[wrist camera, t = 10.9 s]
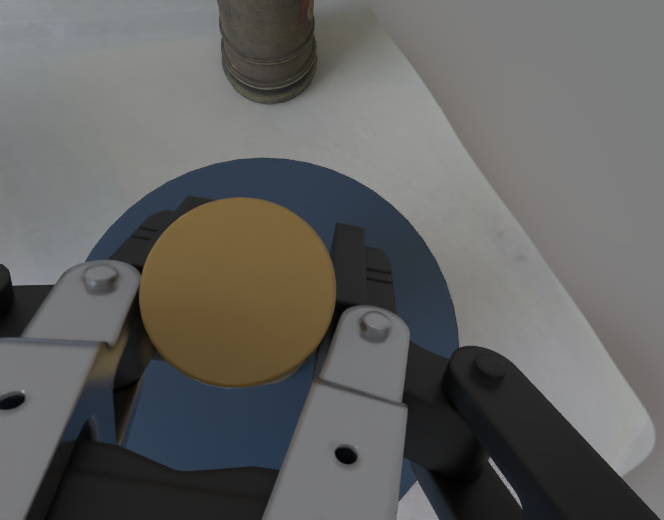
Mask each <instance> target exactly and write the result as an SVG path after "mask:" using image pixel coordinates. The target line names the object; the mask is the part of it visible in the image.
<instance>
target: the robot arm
mask: <svg viewBox="0 0 664 520" xmlns="http://www.w3.org/2000/svg"><path fill="white" fill-rule="evenodd" d="M212 201H215V200H214V199H209V198H203V197H198V196H192V195H188V196H187V197H186V199H185V200H184V201H183V202H182V203H181V204H180V206H179V207H178V208H177V209H176V210H175V211H170V210H163V211H160V212H158V213H156V214H153V215H151V216H149V217H147V218H146V219H145V221H144V222H143V223H142V224H141V225H140V226H139V228H138V229H136V230H135V231H134V232H133V233H132V234H131V237H128V238H127V239H126V241H125V242H124V243H123V244H122V245H121V246H120V247H119V248H118V249H117V250H116V251H115V252H114V253H113V254H112V255H111V256H110V257H109V258H108V259H107V260H94V261H88V262H84V263H81V264H78V265H75V266H73V267H71V268H70V269H68V270H67V271H65V272H64V273H63V274H62V275H61V277H60V278H59V280H58V281H57V283H56V284H55V285H22V286H12V281H11V276H10V272H9V270H8V269H7V268H6V267H5V266H4V265H2V264H0V520H396V518H397V509H398V499H399V490H400V480H401V471H402V461H403V458H406V459H408V460H410V462H411V467H412V470H413V473H414V475H415V477H416V478H417V480H418V482H419V484H420V486H421V487H422V489H423V491H424V493H425V495H426V496H427V498H428V500H429V502H430V504H431V505H432V507H433V509H434V511H435V513H436V514H437V516H438V518H439V520H660V519H659V518H658V517H657V515H656V514H655V513H654V512H653V511H652V510H651V509H650V508H649V507H648V506H647V505H646V504H645V503H644V502H643V501H642V500H641V498H640V497H639V496H638V495H637V494H636V493H635V492H634V491H633V490H632V489H631V488H630V487H629V486H628V485H627V484H626V483H625V482H624V480H623V479H622V478H621V477H620V476H619V475H618V474H617V473H616V472H615V471H614V470H613V469H612V468H611V467H610V466H609V464H608V463H607V462H606V461H605V460H604V459H603V458H602V457H601V456H600V455H599V454H598V453H597V452H596V451H595V450H594V449H593V447H592V446H591V445H590V444H589V443H588V442H587V441H586V440H585V439H584V438H583V437H582V436H581V435H580V434H579V433H578V432H577V430H576V429H575V428H574V427H573V426H572V425H571V424H570V423H569V422H568V421H567V420H566V419H565V418H564V417H563V416H562V414H561V413H560V412H559V411H558V410H557V409H556V408H555V407H554V406H553V405H552V404H551V403H550V402H549V401H548V400H547V399H546V397H545V396H544V395H543V394H542V393H541V392H540V391H539V390H538V389H537V388H536V387H535V386H534V385H533V384H532V383H531V382H530V380H529V379H528V378H527V377H526V376H525V375H524V374H523V373H522V372H521V371H520V370H519V369H518V368H517V367H516V366H515V365H514V364H513V363H512V362H511V361H509V360H508V359H507V358H505V357H504V356H502V355H500V354H499V353H497V352H494V351H492V350H489V349H486V348H483V347H478V346H464V347H460V348H458V349H456V350H455V351H454V352H453V353H452V354H451V357H450V359H448V358H445V357H443V356H440V355H438V354H435V353H433V352H430V351H428V350H426V349H424V348H422V347H420V346H418V345H417V344H415V343H414V342H413V341H411V340H410V332H409V328H408V327H407V325H406V324H405V322H404V321H403V320H402V319H401V318H400V317H398V316H397V309H396V301H395V293H394V286H393V278H392V275H391V274H392V270H391V262H390V260H389V258H388V257H387V256H386V255H385V253H384V252H383V251H382V250H381V249H377V248H372V247H366V246H365V229H364V227H359V226H354V225H349V224H343V223H338V222H337V223H336V227H335V231H334V236H333V241H332V246H331V251H330V258H331V260H332V264H333V268H334V271H335V278H336V301H335V309H334V312H333V316H332V320H331V322H330V325H329V327H328V329H327V332H326V334H325V335H324V337H323V339H322V341H321V342H320V344H319V345H318V346H317V348H316V351H315V360H314V368H313V377H312V385H311V389H310V391H309V394H308V397H307V399H306V402H305V405H304V407H303V410H302V413H301V415H300V418H299V421H298V423H297V426H296V429H295V431H294V434H293V437H292V440H291V442H290V445H289V448H288V450H287V453H286V456H285V458H284V461H283V464H282V466H281V469H280V470H275V469H269V468H263V467H256V466H249V467H236V468H223V469H210V470H197V471H178V470H175V469H172V468H170V467H167V466H165V465H163V464H161V463H158V462H156V461H154V460H151V459H149V458H147V457H144V456H142V455H140V454H137V453H135V452H133V451H131V450H128V449H126V445H127V441H128V438H129V435H130V431H131V428H132V424H133V421H134V417H135V414H136V411H137V407H138V404H139V400H140V397H141V393H142V390H143V387H144V371H145V369H146V368H147V366H148V364H149V362H150V361H151V360H157V361H163V362H167V361H166V360H165V359H164V358H163V357H162V356H161V355H160V354H159V353H158V351H157V350H156V348H155V347H154V345H153V344H152V342H151V340H150V338H149V336H148V334H147V332H146V330H145V327H144V324H143V321H142V317H141V311H140V305H139V288H140V280H141V275H142V271H143V268H144V265H145V262H146V260H147V257H148V255H149V253H150V251H151V249H152V248H153V246H154V244H155V243H156V241H157V240H158V239H159V237H160V236H161V235H162V233H163V232H164V231H165V230H166V229H167V228H168V227H169V226H170V225H171V224H172V223H173V222H175V221H176V220H177V219H178V218H180V217H181V216H182V215H184V214H186V213H187V212H189V211H190V210H192V209H194V208H196V207H199V206H201V205H203V204H206V203H209V202H212ZM490 457H491V458H492V460H493V461H494V463H495V464H496V465H497V467H498V468H499V469H500V471H501V472H502V474H503V475H504V476H505V478H506V479H507V481H508V482H509V483H510V485H511V486H512V487H513V489H514V490H515V492H516V493H517V495H518V497H519V499H520V502H521V505H522V508H521V507H520V505H519V504H518V503H517V501H516V500H515V498H514V497H513V496H512V494H511V493H510V491H509V490H508V489H507V487H506V486H505V484H504V483H503V481H502V480H501V479H500V477H499V476H498V474H497V473H496V472H495V470H494V469H493V467H492V466H491V465H490V463H489V462H488V460H489V458H490ZM522 509H523V510H522Z"/></svg>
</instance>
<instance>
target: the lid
mask: <svg viewBox="0 0 664 520" xmlns="http://www.w3.org/2000/svg"><path fill="white" fill-rule="evenodd" d="M188 195H192V196H198V197H203V198H209V199H214V200H215V201H212V202H209V203H206V204H203V205H201V206H199V207H196V208H194V209H192V210H190V211H189V212H187V213H186V214H184V215H182V216H181V217H180V218H178V219H177V220H176V221H175V222H173V223H172V224H171V225H170V226H169V227H168V228H167V229H166V230H165V231H164V232H163V233H162V235H161V236H160V237H159V239H158V240H157V241H156V243H155V244H154V246H153V248H152V249H151V251H150V253H149V255H148V257H147V260H146V262H145V265H144V268H143V271H142V275H141V280H140V288H139V305H140V311H141V317H142V321H143V324H144V327H145V330H146V332H147V334H148V336H149V338H150V340H151V342H152V344H153V345H154V347H155V348H156V350H157V351H158V353H159V354H160V355H161V356H162V357H163V358H164V359H165V360H166V361H167V362H163V361H157V360H151V361H150V362H149V364H148V366H147V368H146V369H145V371H144V387H143V390H142V393H141V397H140V400H139V404H138V407H137V411H136V414H135V417H134V421H133V424H132V428H131V431H130V435H129V438H128V441H127V445H126V449H128V450H131V451H133V452H135V453H137V454H140V455H142V456H144V457H147V458H149V459H151V460H154V461H156V462H158V463H161V464H163V465H165V466H167V467H170V468H172V469H175V470H178V471H197V470H210V469H223V468H236V467H249V466H256V467H263V468H269V469H275V470H280V469H281V466H282V464H283V461H284V458H285V456H286V453H287V450H288V448H289V445H290V442H291V440H292V437H293V434H294V431H295V429H296V426H297V423H298V421H299V418H300V415H301V413H302V410H303V407H304V405H305V402H306V399H307V397H308V394H309V391H310V389H311V385H312V377H313V368H314V360H315V351H316V348H317V346H318V345H319V344H320V342H321V341H322V339H323V337H324V335H325V334H326V332H327V329H328V327H329V325H330V322H331V320H332V316H333V312H334V309H335V301H336V278H335V271H334V268H333V264H332V260H331V258H330V251H331V246H332V241H333V236H334V231H335V227H336V223H337V222H338V223H343V224H349V225H354V226H359V227H364V229H365V246H366V247H372V248H377V249H381V250H382V251H383V252H384V253H385V255H386V256H387V257H388V258H389V260H390V262H391V270H392V274H391V275H392V278H393V286H394V293H395V301H396V309H397V316H398V317H400V318H401V319H402V320H403V321H404V322H405V324H406V325H407V327H408V328H409V332H410V340H411V341H413V342H414V343H415V344H417V345H418V346H420V347H422V348H424V349H426V350H428V351H430V352H433V353H435V354H438V355H440V356H443V357H445V358H448V359H450V357H451V354H452V353H453V352H454V351H455V350H456V349H458V348H459V339H458V327H457V322H456V317H455V311H454V306H453V302H452V299H451V296H450V293H449V290H448V287H447V284H446V281H445V279H444V277H443V274H442V272H441V270H440V268H439V266H438V264H437V261H436V259H435V258H434V256H433V255H432V253H431V251H430V250H429V248H428V246H427V245H426V243H425V242H424V240H423V239H422V237H421V236H420V235H419V234H418V232H417V231H416V230H415V229H414V227H413V226H412V225H411V224H410V223H409V221H408V220H407V219H406V218H405V217H404V216H403V215H402V214H401V213H400V212H399V211H397V210H396V209H395V208H394V207H393V206H392V205H391V204H390V203H389V202H387V201H386V200H385V199H383V198H382V197H381V196H379V195H378V194H377V193H375V192H374V191H373V190H371V189H369V188H368V187H366V186H364V185H363V184H361V183H359V182H357V181H356V180H354V179H352V178H350V177H348V176H345V175H343V174H341V173H338V172H336V171H334V170H331V169H328V168H325V167H321V166H318V165H314V164H311V163H307V162H301V161H295V160H289V159H278V158H251V159H238V160H232V161H227V162H222V163H216V164H213V165H209V166H206V167H203V168H200V169H197V170H193V171H191V172H188V173H186V174H184V175H182V176H180V177H177V178H175V179H173V180H171V181H169V182H167V183H165V184H164V185H162V186H160V187H159V188H157V189H155V190H154V191H152V192H150V193H149V194H147V195H146V196H145V197H143V198H142V199H141V200H139V201H138V202H137V203H136V204H134V205H133V206H132V207H130V208H129V209H128V210H127V211H126V212H125V213H124V214H123V215H122V216H121V217H120V218H119V219H118V220H117V221H116V222H115V223H114V224H113V225H112V226H111V227H110V228H109V229H108V230H107V231H106V233H105V234H104V235H103V236H102V238H101V239H100V240H99V242H98V243H97V244H96V245H95V247H94V248H93V249H92V251H91V253H90V254H89V256H88V258H87V259H86V261H85V262H88V261H94V260H107V259H108V258H109V257H110V256H111V255H112V254H113V253H114V252H115V251H116V250H117V249H118V248H119V247H120V246H121V245H122V244H123V243H124V242H125V241H126V239H127V238H128V237H131V234H132V233H133V232H134V231H135V230H136V229H138V228H139V226H140V225H141V224H142V223H143V222H144V221H145V219H146V218H147V217H149V216H151V215H153V214H156V213H158V212H160V211H163V210H170V211H175V210H176V209H177V208H178V207H179V206H180V204H181V203H182V202H183V201H184V200H185V199H186V197H187V196H188ZM416 481H417V478H416V477H415V475H414V473H413V470H412V467H411V462H410V460H408V459H406V458H403V461H402V471H401V480H400V490H399V499H398V502H399V501H400V500H401V499H402V497H403V496H404V495H405V494H406V493H407V492H408V490H409V489H410V488H411V487H412V486H413V485H414V483H415V482H416Z"/></svg>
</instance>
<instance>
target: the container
mask: <svg viewBox="0 0 664 520" xmlns="http://www.w3.org/2000/svg"><path fill="white" fill-rule="evenodd" d="M217 1H218V6H219V13H220V17H219V26H220V31H221V34H222V40H221V53H222V65H223V69H224V72H225V74H226V77H227V78H228V80H229V82H230V83H231V84H232V86H233V87H234V88H235V89H236V90H237V91H238V92H239V93H240V94H241V95H243V96H244V97H246V98H247V99H249V100H252V101H254V102H258V103H263V104H274V103H281V102H285V101H287V100H290V99H292V98H294V97H296V96H297V95H299V94H300V93H301V92H302V91H303V90H304V89H305V88H306V87H307V86H308V85H309V83H310V81H311V80H312V78H313V75H314V73H315V70H316V64H317V56H316V41H315V37H314V34H313V33H314V25H315V22H314V15H313V7H314V0H217Z"/></svg>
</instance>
